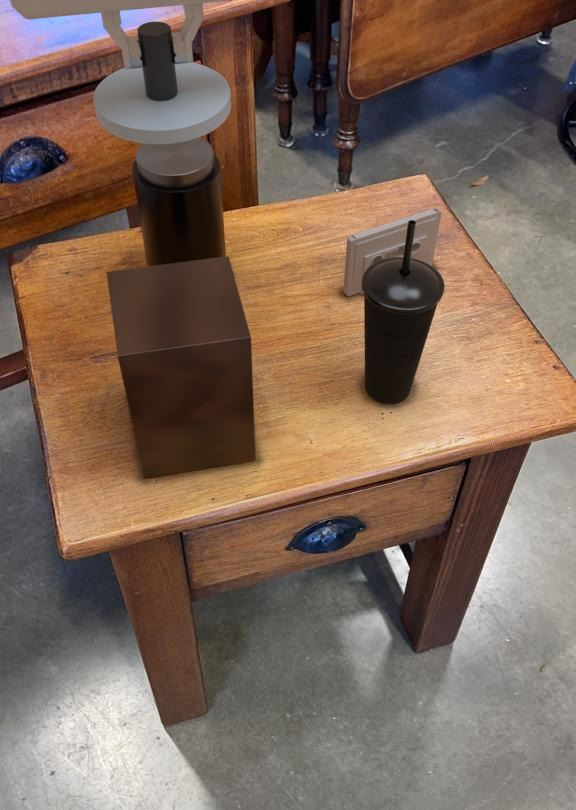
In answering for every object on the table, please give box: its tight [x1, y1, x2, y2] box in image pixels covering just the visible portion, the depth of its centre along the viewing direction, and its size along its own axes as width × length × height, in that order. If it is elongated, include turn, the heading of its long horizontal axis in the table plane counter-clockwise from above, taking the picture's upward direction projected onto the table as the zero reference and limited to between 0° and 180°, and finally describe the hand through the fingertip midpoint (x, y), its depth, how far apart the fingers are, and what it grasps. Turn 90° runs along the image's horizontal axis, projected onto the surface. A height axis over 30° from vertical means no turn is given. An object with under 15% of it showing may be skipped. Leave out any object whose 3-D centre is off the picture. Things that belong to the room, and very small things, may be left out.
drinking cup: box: [361, 220, 445, 405], centre depth 79 cm, size 8×8×20 cm
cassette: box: [342, 207, 442, 297], centre depth 95 cm, size 12×2×8 cm, turn 118°
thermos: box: [131, 136, 227, 267], centre depth 92 cm, size 9×9×16 cm
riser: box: [106, 255, 257, 479], centre depth 77 cm, size 11×11×16 cm
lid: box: [93, 21, 232, 145], centre depth 66 cm, size 11×11×6 cm
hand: (158, 63), depth 66 cm, fingers closed on lid, 2 cm apart
